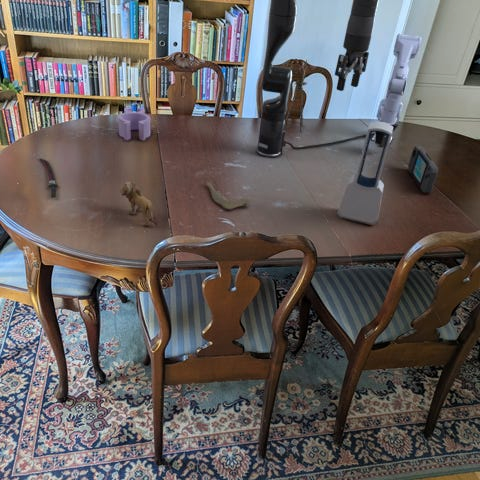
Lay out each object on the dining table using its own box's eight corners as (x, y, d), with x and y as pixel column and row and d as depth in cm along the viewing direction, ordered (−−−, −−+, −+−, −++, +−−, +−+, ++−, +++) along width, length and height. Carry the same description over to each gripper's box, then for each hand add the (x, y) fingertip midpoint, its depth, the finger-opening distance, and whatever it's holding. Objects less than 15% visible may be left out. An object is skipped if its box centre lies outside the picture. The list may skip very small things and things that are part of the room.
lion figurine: (118, 210, 138) (116, 182, 133) (132, 204, 141) (131, 177, 137) (151, 229, 130) (150, 201, 126) (165, 223, 134) (165, 195, 129)
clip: (120, 122, 199) (119, 106, 195) (149, 123, 202) (149, 107, 198) (118, 140, 183) (117, 123, 179) (151, 140, 185) (150, 123, 181)
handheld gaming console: (406, 168, 186) (413, 144, 180) (412, 169, 186) (420, 145, 180) (423, 194, 166) (432, 168, 161) (430, 195, 166) (439, 169, 161)
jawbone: (235, 216, 142) (236, 211, 141) (188, 193, 152) (187, 188, 151) (254, 205, 147) (254, 199, 146) (207, 183, 158) (207, 178, 157)
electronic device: (378, 217, 149) (404, 126, 133) (375, 228, 143) (403, 134, 127) (339, 207, 152) (360, 117, 136) (335, 218, 146) (357, 125, 130)
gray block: (383, 143, 196) (386, 132, 194) (387, 147, 192) (390, 136, 190) (374, 143, 196) (377, 132, 193) (378, 147, 192) (381, 136, 189)
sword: (61, 197, 141) (61, 193, 140) (50, 198, 139) (50, 194, 139) (49, 160, 164) (48, 156, 163) (39, 160, 163) (39, 157, 162)
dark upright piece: (301, 132, 210) (312, 62, 194) (282, 129, 211) (292, 60, 195) (302, 125, 218) (314, 58, 201) (285, 123, 219) (294, 56, 202)
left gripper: (359, 28, 143) (348, 82, 152) (335, 31, 134) (324, 88, 143) (381, 33, 139) (368, 88, 148) (357, 36, 130) (345, 94, 139)
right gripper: (389, 104, 193) (381, 135, 200) (373, 109, 183) (364, 142, 191) (405, 108, 189) (396, 140, 196) (389, 115, 180) (380, 148, 187)
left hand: (347, 88), depth 145 cm, fingers open, 8 cm apart
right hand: (381, 142), depth 193 cm, fingers closed on gray block, 6 cm apart
